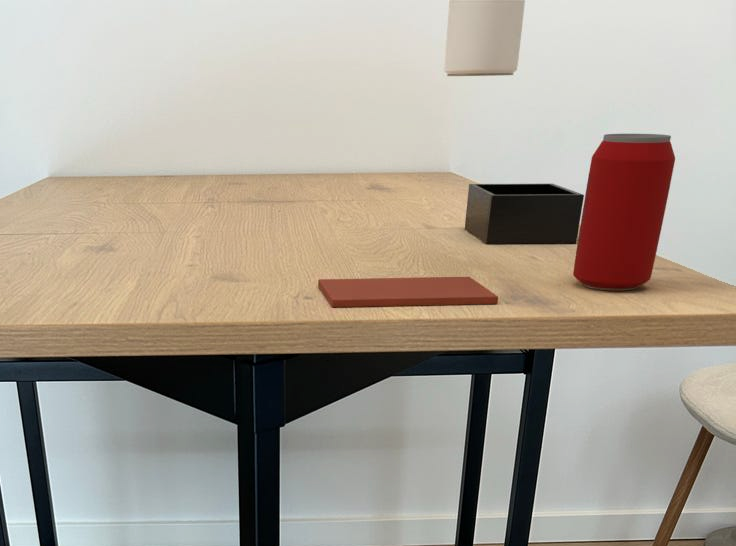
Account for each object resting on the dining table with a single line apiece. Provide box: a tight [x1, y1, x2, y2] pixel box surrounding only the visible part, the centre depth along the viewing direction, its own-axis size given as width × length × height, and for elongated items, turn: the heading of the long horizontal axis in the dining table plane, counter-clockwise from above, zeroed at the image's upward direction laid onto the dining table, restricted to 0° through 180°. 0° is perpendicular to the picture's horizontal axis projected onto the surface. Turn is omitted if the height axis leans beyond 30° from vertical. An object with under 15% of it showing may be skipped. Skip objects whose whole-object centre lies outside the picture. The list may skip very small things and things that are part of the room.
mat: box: [317, 276, 499, 308], centre depth 81 cm, size 14×9×1 cm, turn 94°
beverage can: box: [572, 133, 676, 292], centre depth 82 cm, size 7×7×12 cm
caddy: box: [464, 183, 585, 245], centre depth 109 cm, size 12×10×5 cm
